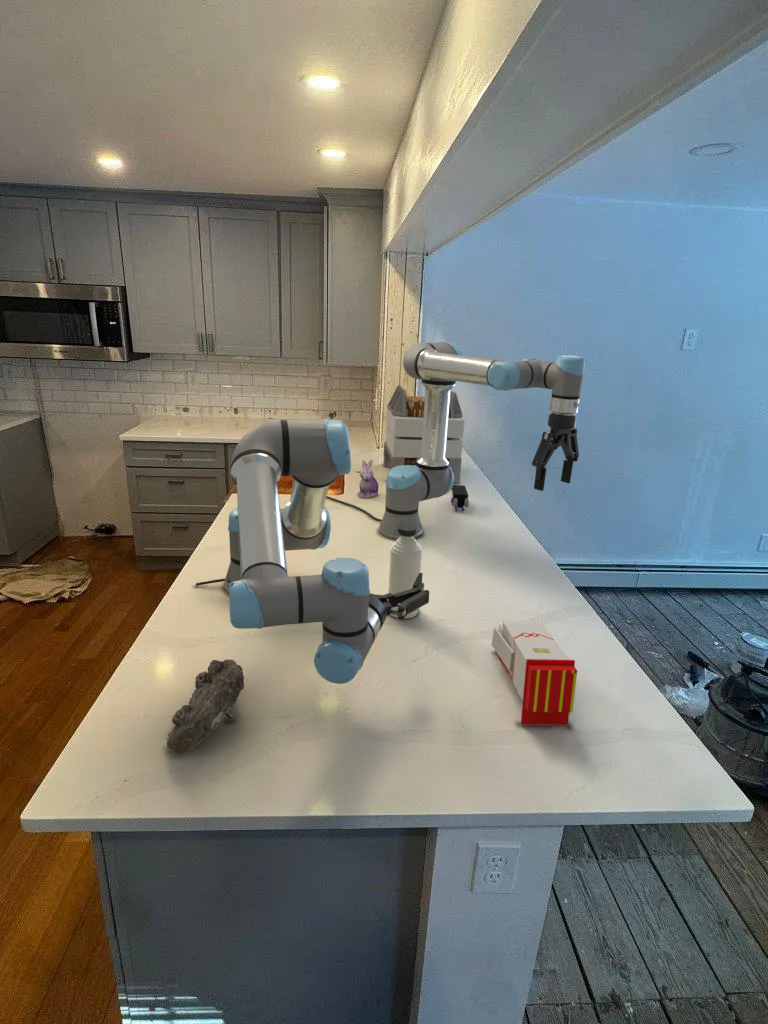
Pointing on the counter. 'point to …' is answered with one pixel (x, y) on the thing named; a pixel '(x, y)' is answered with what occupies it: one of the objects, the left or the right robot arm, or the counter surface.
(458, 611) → the counter surface
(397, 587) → the bottle
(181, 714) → the fossil
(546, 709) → the toy
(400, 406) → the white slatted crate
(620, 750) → the counter surface
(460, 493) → the figurine character
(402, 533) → the cap
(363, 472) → the figurine
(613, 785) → the counter surface
